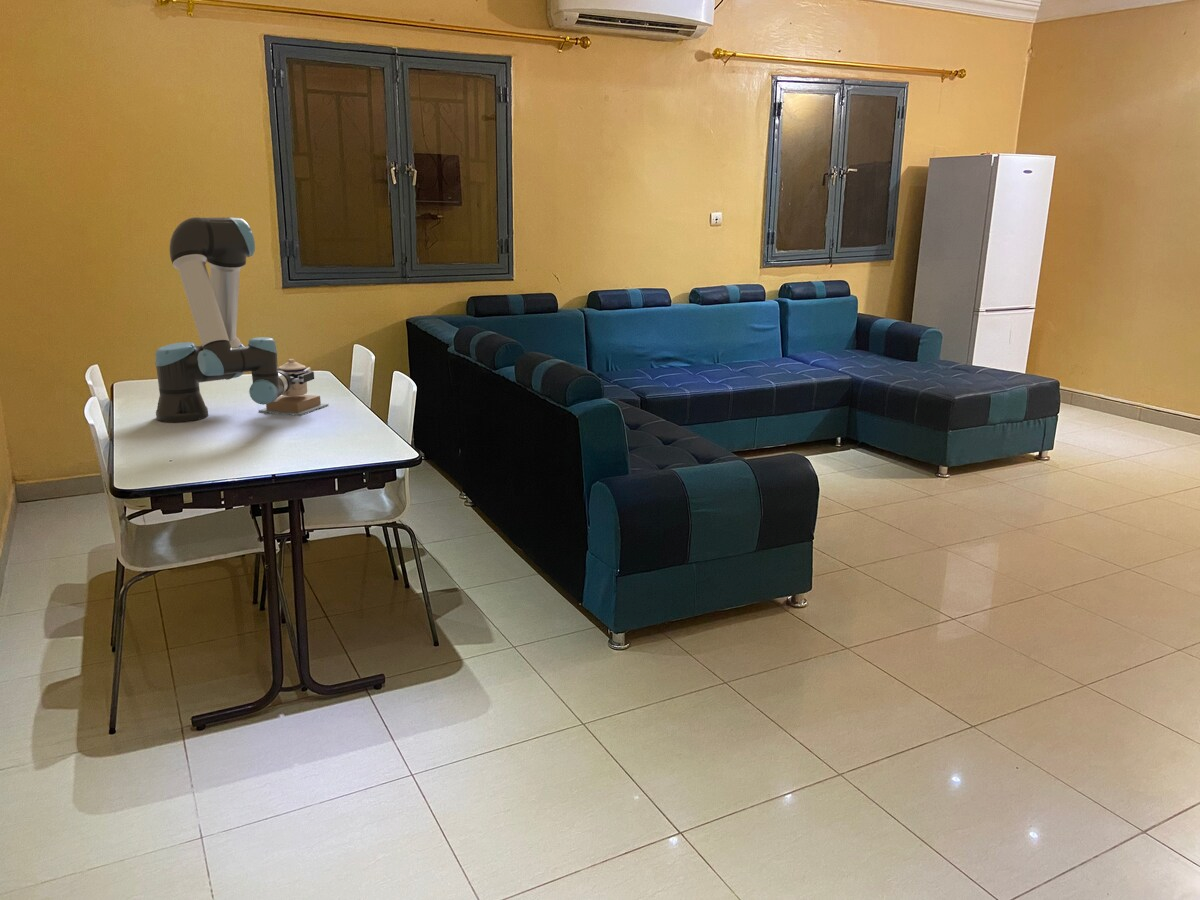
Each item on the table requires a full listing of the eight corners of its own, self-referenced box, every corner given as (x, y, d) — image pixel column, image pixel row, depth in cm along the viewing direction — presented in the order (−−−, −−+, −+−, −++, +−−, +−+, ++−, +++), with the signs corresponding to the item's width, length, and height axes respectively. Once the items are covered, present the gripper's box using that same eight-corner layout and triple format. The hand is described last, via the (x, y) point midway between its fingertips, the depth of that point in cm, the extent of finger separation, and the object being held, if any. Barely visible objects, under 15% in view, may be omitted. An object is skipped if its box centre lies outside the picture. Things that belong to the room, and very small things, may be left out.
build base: (258, 412, 289) (257, 401, 288) (288, 402, 304) (287, 392, 303) (300, 415, 285) (299, 404, 284) (328, 405, 300) (327, 395, 299)
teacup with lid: (278, 392, 297) (275, 358, 294) (306, 390, 301) (304, 356, 298) (281, 398, 286) (278, 363, 283) (310, 396, 290) (308, 362, 287)
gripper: (241, 395, 274) (263, 382, 296) (312, 395, 276) (328, 382, 298) (239, 372, 273) (261, 360, 294) (310, 371, 274) (326, 360, 296)
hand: (294, 371), depth 296 cm, fingers closed on teacup with lid, 9 cm apart
